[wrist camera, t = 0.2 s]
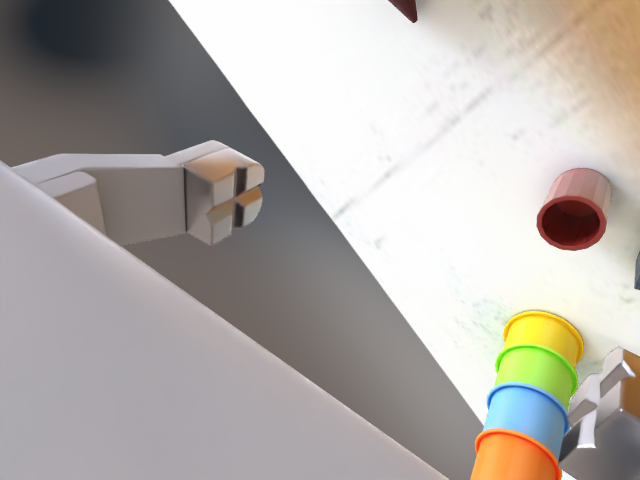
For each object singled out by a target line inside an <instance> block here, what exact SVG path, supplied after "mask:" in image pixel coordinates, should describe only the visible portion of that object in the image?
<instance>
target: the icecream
mask: <svg viewBox="0 0 640 480" xmlns="http://www.w3.org/2000/svg"><path fill="white" fill-rule="evenodd" d="M388 1H390V2H391V3H392V4H393V5H394V6H395V7H396V8H397V9H398V10H399V11H401V12H402V13H403V14H404V15H405V16H406V17H407V18H408V19H409V20H410V21H411V22H413V23H415V22H416V21H417V20H418V19H417V10H416V2H415V0H388Z"/></svg>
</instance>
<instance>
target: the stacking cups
mask: <svg viewBox="0 0 640 480" xmlns="http://www.w3.org/2000/svg"><path fill="white" fill-rule="evenodd" d="M504 341H505V346H504V349H503V350H502V351H501V352H500V353H499V355H498V356H497V359H496V364H495V366H496V371H497V374H498V375H497V379H496V382H495V386H494V388H493V389H492V390H491V391H490V392H489V394H488V396H487V407H488V410H489V411H488V414H487V418H486V422H485V425H484V429H483V432H482V433H480V434H479V435H478V437H477V439H476V441H475V450H476V453H477V458H476V461H475V465H474V469H473V472H472V476H471V480H561V477H562V470H561V469H560V468H559V467H557V466H558V461H559V455H560V450H561V444H562V439H563V436H564V435H565V434H566V433H567V432H568V431H569V430H570V427H571V426H570V424H569V422H568V420H567V414H568V408H569V401H570V397H571V396H573V395H574V393H575V392H576V390H577V388H578V375H577V373H576V370H575V365H576V364H577V363H578V362H579V360H580V359H581V357H582V355H583V352H584V344H583V340H582V337H581V335H580V334H579V332H578V331H577V330H576V328H575V327H574V326H572V325H571V324H570V323H569V322H568V321H566V320H564V319H563V318H561V317H559V316H556V315H554V314H551V313H546V312H541V311H529V312H524V313H520V314H518V315H516V316H514V317H513V318H511V319H510V320H509V321H508V323H507V324H506V326H505V329H504Z"/></svg>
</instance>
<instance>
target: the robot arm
mask: <svg viewBox="0 0 640 480" xmlns="http://www.w3.org/2000/svg"><path fill="white" fill-rule="evenodd" d="M263 181H264V168H263V167H262V165H261V164H259V163H258V162H256V161H254V160H252V159H250V158H248V157H247V156H245V155H243V154H241V153H239V152H237V151H235V150H234V149H231V148H230V147H228V146H226V145H224V144H222V143H220V142H217V141H213V140H211V141H208V142H205V143H202V144H200V145H196V146H194V147H191V148H188V149H185V150H182V151H180V152H176V153H174V154H171V155H168V156H165V157H164V156H162V155H160V154H156V155H155V154H57V155H53V156H50V157H47V158H43V159H40V160H36V161H33V162H29V163H26V164H22V165H19V166H16V167H12V168H10V167H9V166H7V165H6V164H4V163H3V162H2V161H0V480H449V479H448V478H446V477H445V476H443V475H442V474H441V473H439V472H438V471H437V470H435V469H434V468H432V467H431V466H430V465H428V464H427V463H425V462H424V461H422V460H421V459H419V458H418V457H417V456H415V455H414V454H413V453H411V452H410V451H408V450H407V449H406V448H404V447H403V446H401V445H400V444H399V443H397V442H396V441H394V440H393V439H392V438H390V437H389V436H387V435H386V434H385V433H383V432H381V431H380V430H379V429H378V428H376V427H375V426H373V425H372V424H370V423H369V422H368V421H366V420H365V419H363V418H362V417H361V416H359V415H358V414H356V413H355V412H354V411H352V410H351V409H349V408H348V407H347V406H345V405H344V404H342V403H341V402H340V401H338V400H337V399H335V398H334V397H332V396H331V395H330V394H328V393H327V392H325V391H324V390H323V389H321V388H320V387H318V386H317V385H316V384H314V383H313V382H311V381H310V380H308V379H307V378H306V377H304V376H303V375H302V374H300V373H298V372H297V371H296V370H295V369H293V368H292V367H290V366H289V365H287V364H286V363H284V362H283V361H282V360H280V359H279V358H278V357H276V356H275V355H273V354H272V353H271V352H269V351H268V350H266V349H265V348H264V347H262V346H261V345H259V344H258V343H256V342H255V341H253V340H252V339H251V338H249V337H248V336H247V335H245V334H244V333H242V332H241V331H240V330H238V329H237V328H235V327H234V326H233V325H231V324H230V323H228V322H227V321H226V320H224V319H223V318H221V317H220V316H218V315H217V314H216V313H214V312H213V311H211V310H210V309H209V308H207V307H206V306H204V305H203V304H201V303H200V302H199V301H197V300H196V299H194V298H193V297H192V296H190V295H189V294H187V293H186V292H185V291H183V290H182V289H180V288H179V287H178V286H176V285H175V284H173V283H172V282H171V281H169V280H168V279H166V278H165V277H164V276H162V275H161V274H159V273H158V272H156V271H155V270H154V269H152V268H151V267H149V266H148V265H146V264H145V263H144V262H142V261H141V260H140V259H138V258H137V257H135V256H134V255H133V254H131V253H130V252H128V251H127V250H125V249H124V248H122V247H121V246H123V245H129V244H134V243H139V242H144V241H149V240H155V239H159V238H165V237H170V236H175V235H180V234H185V233H186V232H187V233H189V234H190V235H192V236H194V237H196V238H197V239H199V240H201V241H202V242H204V243H206V244H208V245H209V246H211V247H212V246H214V245H215V244H217V243H219V242H220V241H222V240H224V239H225V238H227V237H229V236H230V235H231V233H232V229H235V228H243V227H245V226H247V225H248V224H250V223H251V222H252V221H253V220H254V219H255V217H256V216H257V214H258V213H259V210H260V208H261V204H262V195H261V193H260V190H259V188H258V187H259V186H260V185H261V184H262V183H263ZM567 420H568V422H569V424H570V426H571V429H570V430H569V431H568V432H567V433H566V434H565V435H564V436H563V439H562V444H561V450H560V455H559V461H558V466H557V467H559V468H560V469H562V470H563V471H565V472H566V473H568V474H569V475H571V476H572V477H574V478H575V479H577V480H640V357H639V356H637V355H635V354H633V353H631V352H629V351H627V350H625V349H623V348H621V347H619V346H618V347H617V348H615V349H614V350H612V351H611V352H610V353H609V354H608V355H607V356H606V357H605V358H604V359H603V364H602V371H601V373H596V374H590V375H589V376H588V377H587V378H586V379H585V380H584V381H583V383H582V384H581V385H580V386H579V388H578V390H577V391H576V393H575V395H574V396H573V398H572V401H571V404H570V406H569V410H568V414H567Z"/></svg>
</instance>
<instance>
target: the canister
mask: <svg viewBox="0 0 640 480" xmlns="http://www.w3.org/2000/svg"><path fill="white" fill-rule="evenodd" d="M611 196H612V189H611V185H610V183H609V181H608V180H607V178H606V177H605V176H604V175H602V174H601V173H599V172H597V171H595V170H592V169H587V168H577V169H572V170H569V171H567V172H565V173H563V174H561V175H560V176H559V177H558V178H557V179H556V180H555V182H554V183H553V185H552V187H551V189H550V191H549V193H548V195H547V197H546V199H545V201H544V203H543V205H542V207H541V209H540V211H539V213H538V215H537V228H538V230H539V233H540V235H541V237H542V238H543V239H545V240H546V241H547V242H548V243H549V244H550V245H552V246H555V247H557V248H559V249H562V250H571V251H576V250H581V249H586V248H589V247H590V246H592V245H594V244H595V243H597V242H598V241H599V240H600V239H601V237H602V236H603V234H604V233H605V230H606V224H607V219H608V213H609V208H610V203H611Z"/></svg>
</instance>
